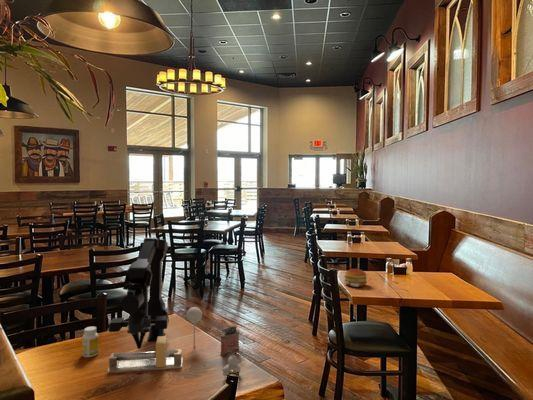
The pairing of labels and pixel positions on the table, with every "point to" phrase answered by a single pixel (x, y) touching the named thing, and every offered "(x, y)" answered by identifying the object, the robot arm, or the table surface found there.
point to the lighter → (229, 341)
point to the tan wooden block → (161, 351)
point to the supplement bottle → (90, 342)
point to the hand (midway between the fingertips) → (139, 348)
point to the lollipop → (194, 317)
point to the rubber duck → (231, 365)
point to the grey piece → (143, 361)
